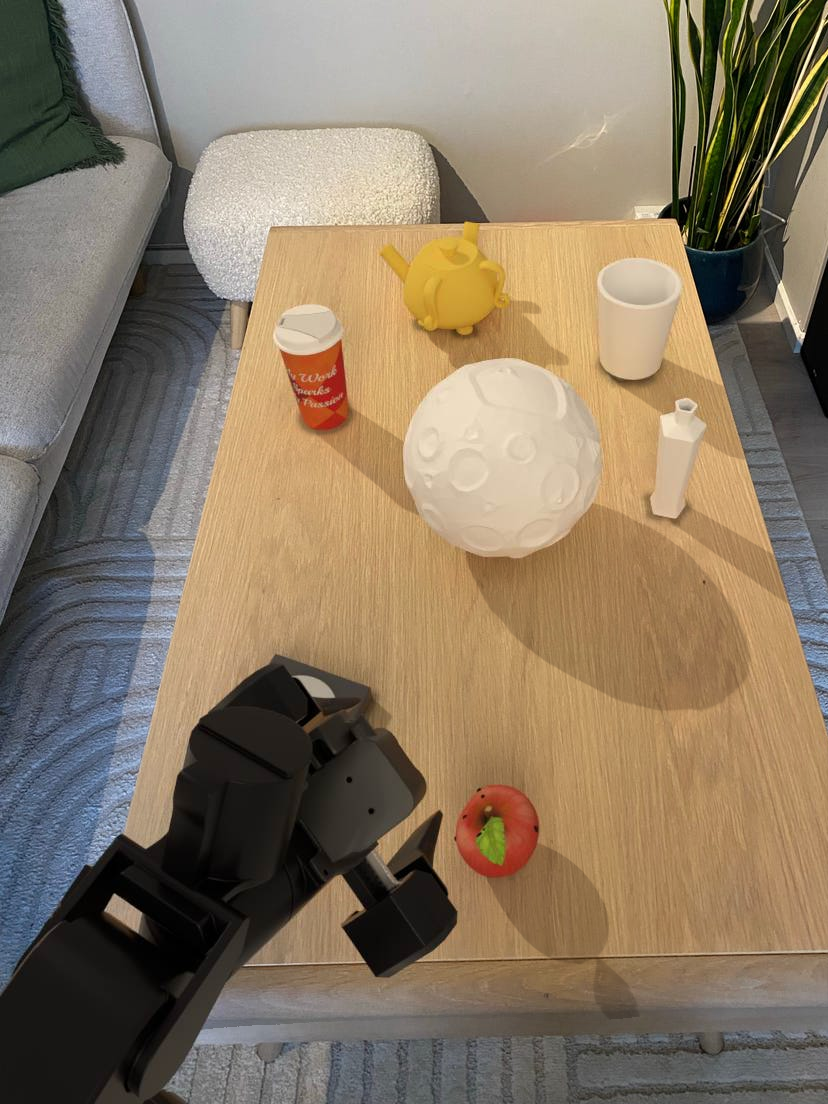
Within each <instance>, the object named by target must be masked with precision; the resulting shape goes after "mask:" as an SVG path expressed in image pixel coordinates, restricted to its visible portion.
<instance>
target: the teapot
mask: <svg viewBox="0 0 828 1104" xmlns="http://www.w3.org/2000/svg"><path fill="white" fill-rule="evenodd" d="M479 233H480V223H477V222H470V221H464V225H463V231H462V236H461V237H455V236H448V237H447V236H445V237H439V238H436V239H434V240H430V241H429V242H427V243H426V244H424V246H422V248H421V249H420V250H419V252H418V253H417V254H416V256H415V257H414V259H413V261H412V262H411V264H410V265H409V263H408V262H407V261H406V260H405V258H404V257H403V256H402V254H400V252H399V251H398V250H397V249H396V248H395V246H394V245H393V244H392V243H391V242H390V243H388V244H387V245H385V246H384V247H383V248H382V249H380V251H379V252H378V254H379V256H380V257H381V258H382V259H383V260H384V262H385V263H386V264H387V265H388V266H389V267H390V268H391V270H392V272H393V273H394V274H395V275H396V276H397V277H398V278H399V280H400V281H401V282H402V283H403V292H402V293H403V303H404V305H405V307H406V308H407V310H408V312H409V313H410V314H411V315H412V316H413V317H415V318H416V319H417V320H418V321H417V324H418V325H419V326H421V327H423V328H424V329H425V331H427V332H433V331H435V330H437V329H442V330H456V331H455V332H457V333H458V334H459V335H469V334H471V333H473V331H474V327H473V325H475V324H478V323H479V322H481V321H482V320H484V318H486V317H488V315H489V314H490V313H492V311H494V309H495V307H496V308H498V309H505V308H507V307H509V305H510V304H511V297H510V295H509V294H508V293H506V292H503V288H504V286H505V282H506V271H505V268H504V266H502V265H501V264H500V263H499V262H496V261H494V260H491V259H488V258H487V256H486V255H485V254H484V253H483V251H481V249H480V248H479V247H478V241H479V235H480V234H479ZM497 276H498V277H497Z"/></svg>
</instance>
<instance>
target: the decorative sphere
mask: <svg viewBox="0 0 828 1104" xmlns="http://www.w3.org/2000/svg"><path fill="white" fill-rule="evenodd" d="M601 446H602V445H601V432H600V430H599V426H598V425H597V422H596V419H595V417H594V415H593V413H592V411H591V410H590V408H589V407H588V405H587V403H586V402H584V400H583V399H582V397H580V396H579V395H578V393H577V392H576V390H575V389H574V387H573V386H572V385H571V384H570V383H568V382H567V381H566V379H563V378H562V377H560V376H558V375H556V374H554V373H553V372H552V371H550V370H548V369H546V368H544V367H542V366H540V365H537V364H534V363H532V362H528V361H526V360H523V359H521V358H514V357H505V358H495V359H494V358H493V359H487V360H482V361H479V362H475V363H468V364H465V365H462V366H461V367H459V368H458V369H456V370H455V371H453V372H452V373H451V374H449V375H448V376H447V377H445V378H444V379H442V380H441V381H440V382H438V383H437V384H435V385H434V386H433V387H432V388H431V389H430V390H429V391H428V392H427V394H426V395H425V396H424V398H423V399H422V400H421V402H420V403H419V405H418V406H417V407H416V410H415V411H414V414H413V415H412V417H411V420H410V423H409V425H408V427H407V431H406V433H405V438H404V442H403V449H402V460H403V474H404V479H405V483H406V486H407V489H408V491H409V494H410V495H411V497H412V499H413V501H414V504H415V508H416V510H417V512H418V514H419V516H420V517H421V519H422V520H423V521H424V522H425V524H426V525H427V526H428V527H429V528H430V529H431V530H432V531H433V532H434V533H435V534H436V535H438V536H439V537H441V538H442V539H443V540H445V541H446V542H447V543H449V544H451V545H452V546H454V547H457V548H458V549H459V548H460V549H461V550H464V551H466V552H468V553H471V554H473V555H476V556H479V557H484V558H499V557H501V558H503V557H508V558H511V559H521V558H525V557H526V556H529V555H531V554H534V553H536V552H538V551H540V550H543V549H545V548H549V547H551V546H552V545H554V544H556V543H557V542H559V541H560V540H562V539H563V538H564V537H566V536H567V535H568V534H569V533H571V531H572V529H573V527H575V525H576V524H577V523H578V521H579V520H580V519H581V518H582V517H583V516H584V514H585V513H586V512H588V510H589V509H590V507H591V506H592V505H593V502H594V500H595V498H596V496H597V493H598V490H599V487H600V483H601V479H602V474H603V455H602V447H601Z"/></svg>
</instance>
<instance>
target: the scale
mask: <svg viewBox="0 0 828 1104" xmlns="http://www.w3.org/2000/svg"><path fill="white" fill-rule="evenodd" d="M272 662H275V663H279V664H283V665H284V666H285V668H286V669H287V670H288V672H289V673H290V675H291V676H292V677H297V678H298V679H300V681H301V682H302V683H303V685H304V686H305V688H306V689H307V690H308V692H309V693H310V695H311V696H312V697H320V698H337V697H359V698H360V699H361V700H362V702H361V703H360V704H358V705H357V706H356V707H355V708H353V709H352V710H351V711H349V712H348V715H349V716H350V717H351V718H352V719H356V718H357V717H359V716H360V715H361V714H363V715H364V716H365V714H366V712H367V710H368V708H369V707H370V704H371V703H372V700H373V698H374V696H373V692H372V689H371V687H370V686H368V685H366V684H362V683H360V682H357V681H353V680H351V679H348V678H346V677H343V676H340V675H338V674H334V673H331V672H329V671H327V670H324V669H323V670H322V669H320V668H317V667H315V666H312V665H308V664H306V663H303V662H300V661H297V660H295V659H292V658H289V657H286V656H284V655H282V654H281V655H280V654H278V653H274V655H273V657H272V658H271V660H270V661H269V663H268V664H270V663H272ZM343 751H344V750H343ZM343 751H342V752H343ZM338 755H339V754H338ZM333 759H334V758H333ZM329 762H330V761H329ZM329 762H328V763H329ZM325 765H326V764H325Z"/></svg>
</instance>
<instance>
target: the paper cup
mask: <svg viewBox="0 0 828 1104" xmlns="http://www.w3.org/2000/svg"><path fill="white" fill-rule="evenodd" d="M344 333H345V327H344V326H343V324H342V322H341V320H340V319H339V318H338V317H337V316H336V314H335V313H334V312H333V311H332V310H331V309H330V308H328V307H326V306H325V305H322V304H321V305H320V304H314V303H313V304H311V303H307V304H300V305H297V306H294V307H291V308H289V309H287V310H286V311H284V312H283V313H282V314H281V315H280V317H279V318H278V320H277V322H276V326H275V327H274V330H273V334H272V338H273V339H272V341H273V342H274V344H275V346H276V347H277V348H278V349H279V352H280V355H281V358H282V361H283V364H284V367H285V370H286V373H287V376H288V379H289V383H290V386H291V389H292V391H293V394H294V397H295V401H296V403H297V407H298V409H299V413H300V415H301V419H302V420H303V422H304V424H305V425H306V426H307V427H309V428H310V429H313V430H317V431H327V430H332V429H335V428H337V427H339V426H340V425H342V424H343V423H344V422H345V421H346V420H347V418H348V415H349V400H348V389H347V381H346V371H345V362H344V351H343V345H342V344H343V343H342V338H343V335H344Z"/></svg>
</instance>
